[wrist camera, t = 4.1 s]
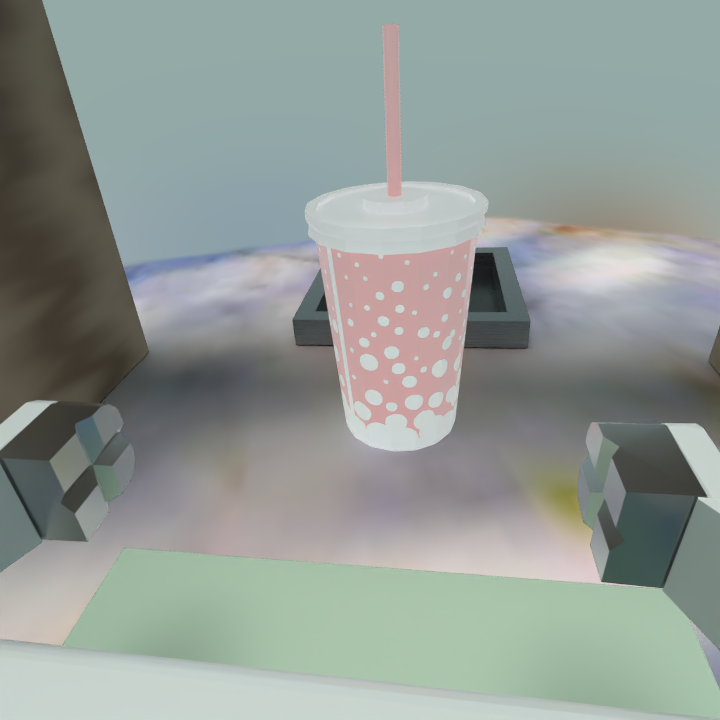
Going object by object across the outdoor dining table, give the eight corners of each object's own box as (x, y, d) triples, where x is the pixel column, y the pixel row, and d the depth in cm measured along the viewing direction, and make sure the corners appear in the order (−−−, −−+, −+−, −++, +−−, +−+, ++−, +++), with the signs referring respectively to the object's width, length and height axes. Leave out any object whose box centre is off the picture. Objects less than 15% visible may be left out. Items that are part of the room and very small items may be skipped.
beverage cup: (505, 423, 21) (548, 12, 14) (384, 489, 19) (361, 19, 11) (411, 363, 26) (408, 28, 19) (302, 409, 23) (249, 35, 16)
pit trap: (527, 348, 26) (530, 321, 26) (296, 344, 28) (292, 319, 27) (505, 268, 36) (507, 247, 35) (332, 269, 38) (330, 249, 37)
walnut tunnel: (905, 532, 16) (2112, -1237, 4) (-11, 479, 20) (-547, -468, 9) (743, 361, 24) (1021, -401, 13) (123, 351, 29) (-67, -220, 18)
